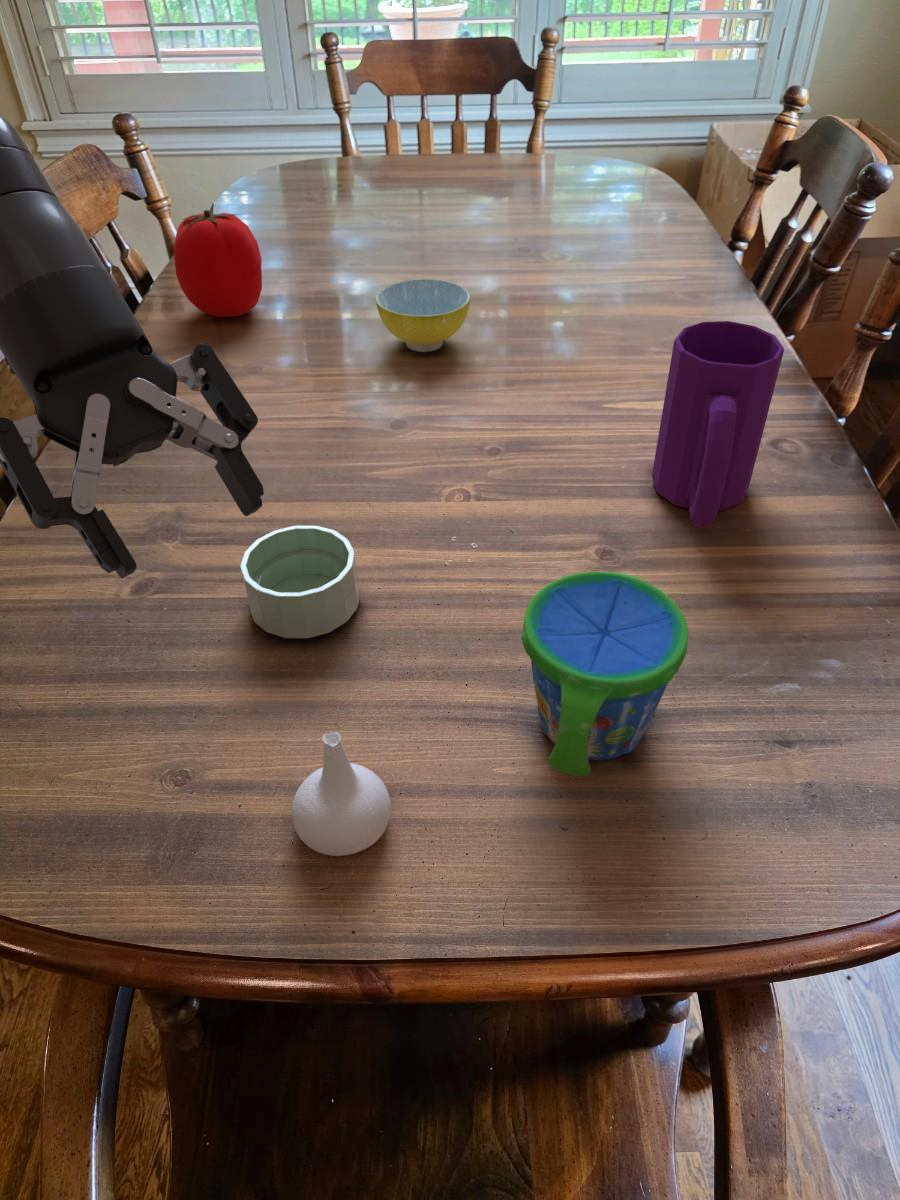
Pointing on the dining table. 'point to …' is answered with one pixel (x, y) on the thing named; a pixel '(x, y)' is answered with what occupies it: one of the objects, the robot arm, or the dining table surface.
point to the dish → (301, 581)
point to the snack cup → (600, 662)
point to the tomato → (218, 263)
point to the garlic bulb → (340, 804)
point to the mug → (714, 415)
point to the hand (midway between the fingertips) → (195, 540)
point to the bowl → (423, 311)
